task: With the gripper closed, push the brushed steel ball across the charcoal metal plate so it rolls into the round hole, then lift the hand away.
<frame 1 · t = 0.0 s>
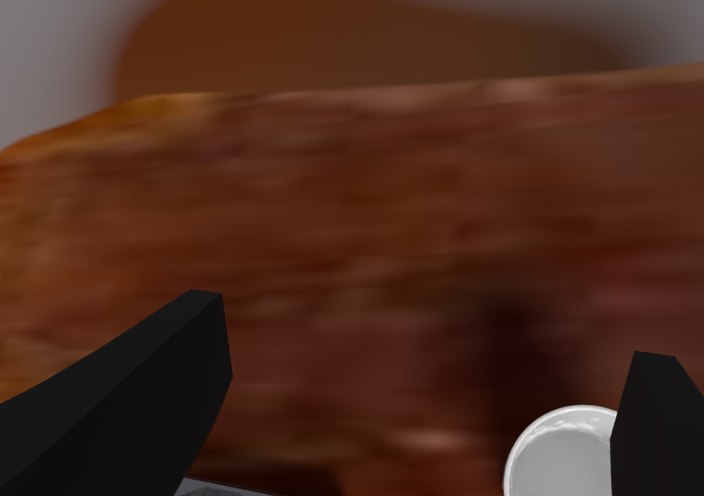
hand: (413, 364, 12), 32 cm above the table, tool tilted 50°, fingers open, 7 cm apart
white cup: (560, 485, 41), on the table
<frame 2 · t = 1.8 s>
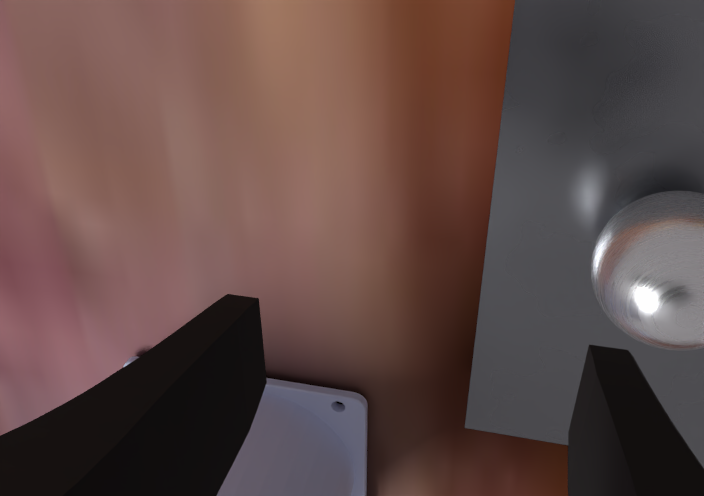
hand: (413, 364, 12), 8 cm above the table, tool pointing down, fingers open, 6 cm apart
steel ball: (674, 270, 14), point 4 cm above the table, touching hole plate
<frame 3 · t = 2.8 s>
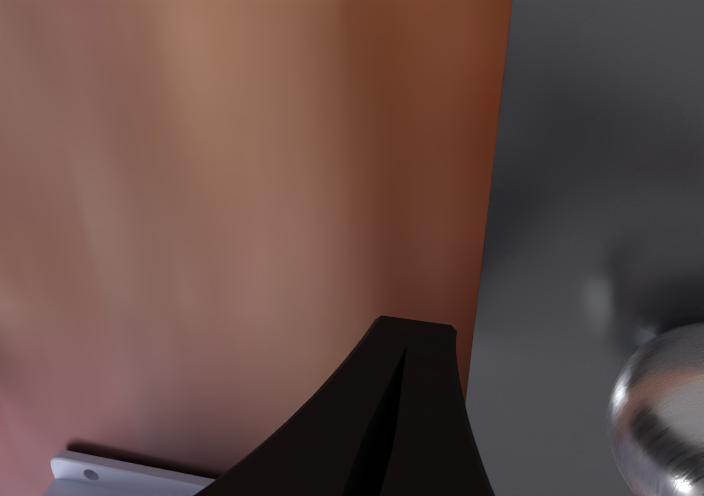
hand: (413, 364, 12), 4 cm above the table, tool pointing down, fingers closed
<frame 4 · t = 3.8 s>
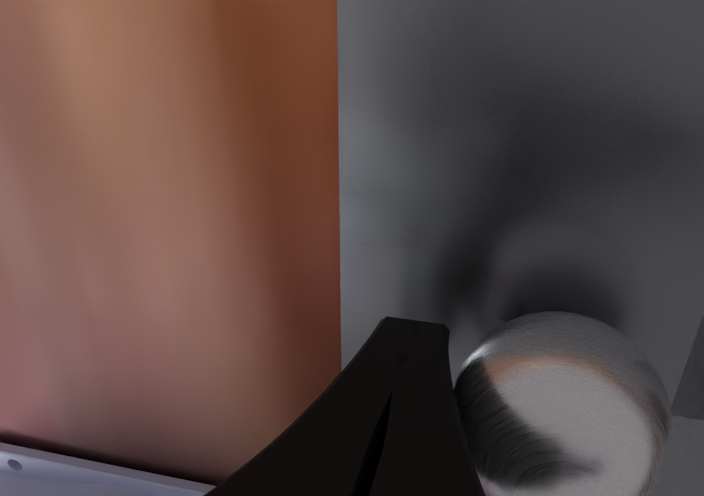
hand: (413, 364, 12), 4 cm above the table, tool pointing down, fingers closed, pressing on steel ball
steel ball: (556, 416, 11), point 4 cm above the table, touching gripper, hole plate
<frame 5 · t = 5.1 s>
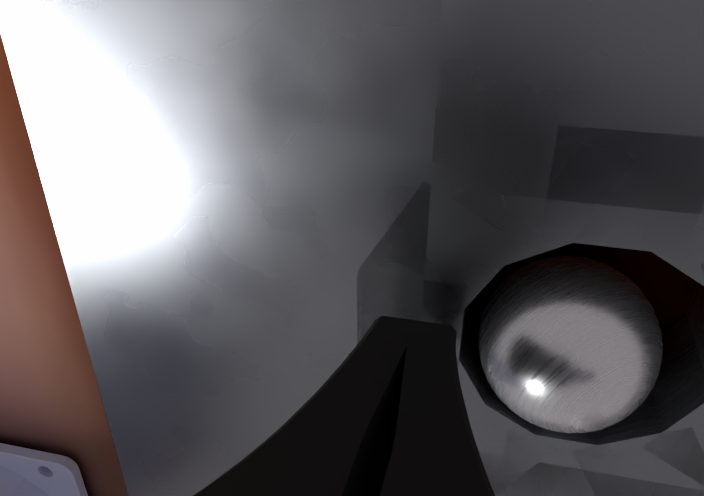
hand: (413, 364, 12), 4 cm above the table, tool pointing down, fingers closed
hole plate: (437, 259, 15), on the table
steel ball: (566, 342, 13), point 2 cm above the table, tilted 141°
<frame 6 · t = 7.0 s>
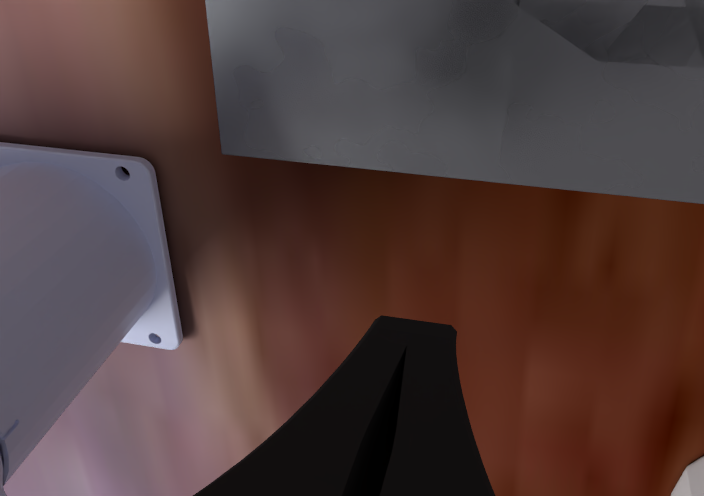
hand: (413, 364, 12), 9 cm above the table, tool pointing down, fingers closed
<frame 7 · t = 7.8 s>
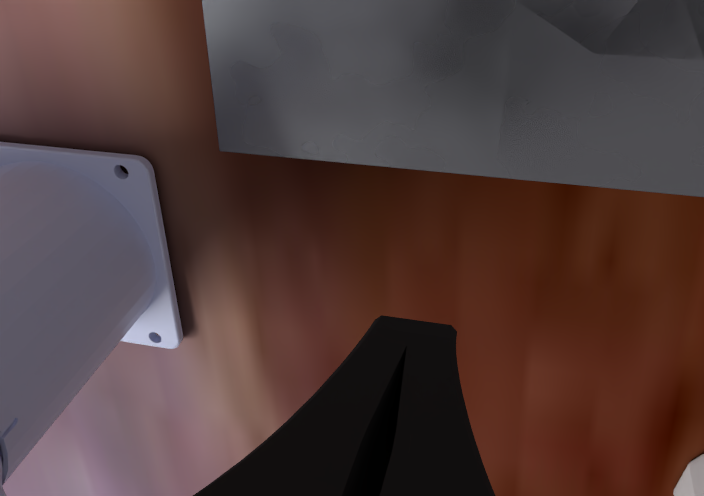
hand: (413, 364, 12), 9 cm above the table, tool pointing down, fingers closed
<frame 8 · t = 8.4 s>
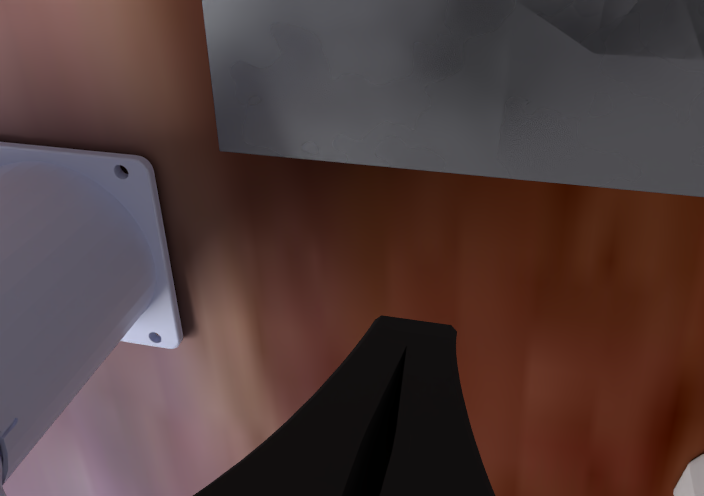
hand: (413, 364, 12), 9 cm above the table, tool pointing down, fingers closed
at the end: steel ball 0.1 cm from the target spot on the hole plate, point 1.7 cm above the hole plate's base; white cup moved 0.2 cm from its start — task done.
